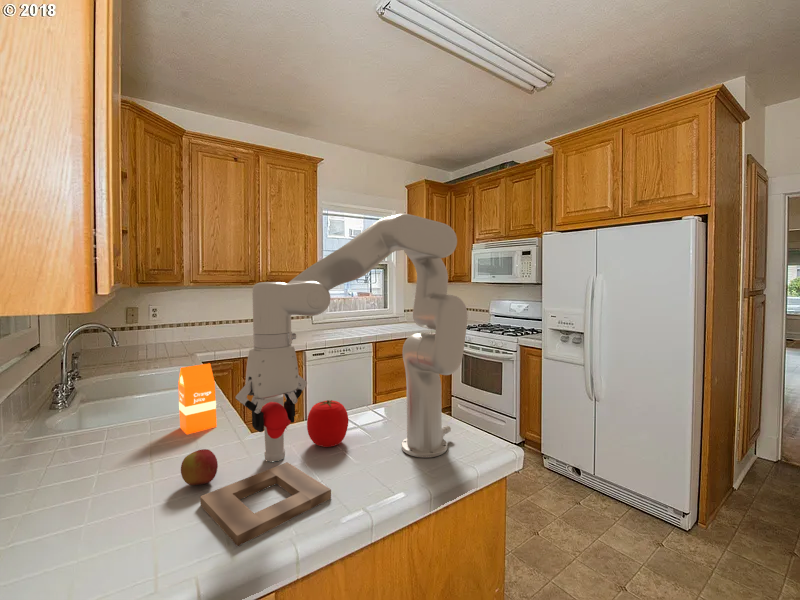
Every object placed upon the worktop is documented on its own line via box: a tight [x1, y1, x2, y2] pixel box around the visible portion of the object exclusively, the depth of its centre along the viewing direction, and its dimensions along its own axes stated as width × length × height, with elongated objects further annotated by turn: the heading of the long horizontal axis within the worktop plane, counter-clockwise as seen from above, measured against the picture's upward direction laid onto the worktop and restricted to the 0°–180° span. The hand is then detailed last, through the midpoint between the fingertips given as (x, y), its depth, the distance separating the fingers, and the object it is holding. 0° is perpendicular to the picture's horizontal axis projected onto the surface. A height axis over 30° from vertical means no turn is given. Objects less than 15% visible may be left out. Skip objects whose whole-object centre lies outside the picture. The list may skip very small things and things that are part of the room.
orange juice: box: [177, 363, 218, 435], centre depth 122 cm, size 8×9×20 cm
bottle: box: [262, 394, 286, 462], centre depth 100 cm, size 5×5×25 cm
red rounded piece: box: [261, 402, 292, 439], centre depth 81 cm, size 8×6×6 cm
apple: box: [180, 448, 219, 486], centre depth 88 cm, size 8×8×8 cm
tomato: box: [306, 399, 349, 448], centre depth 109 cm, size 12×12×13 cm
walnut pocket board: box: [199, 461, 332, 547], centre depth 81 cm, size 20×18×2 cm
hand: (274, 424), depth 81 cm, fingers closed on red rounded piece, 6 cm apart
